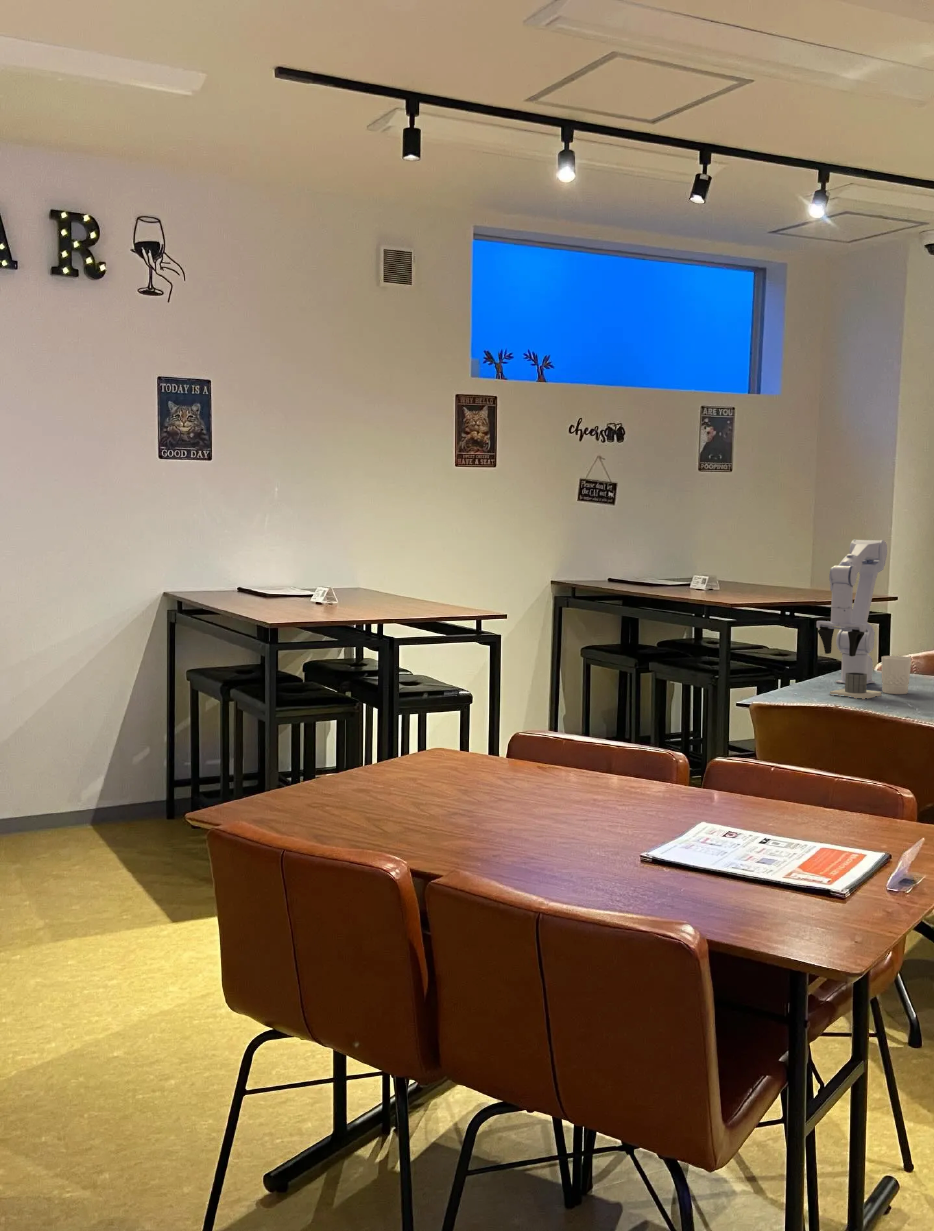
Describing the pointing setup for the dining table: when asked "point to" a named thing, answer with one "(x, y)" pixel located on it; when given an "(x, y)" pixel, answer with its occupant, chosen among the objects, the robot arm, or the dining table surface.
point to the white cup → (895, 674)
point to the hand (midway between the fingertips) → (840, 654)
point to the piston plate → (857, 694)
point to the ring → (855, 682)
